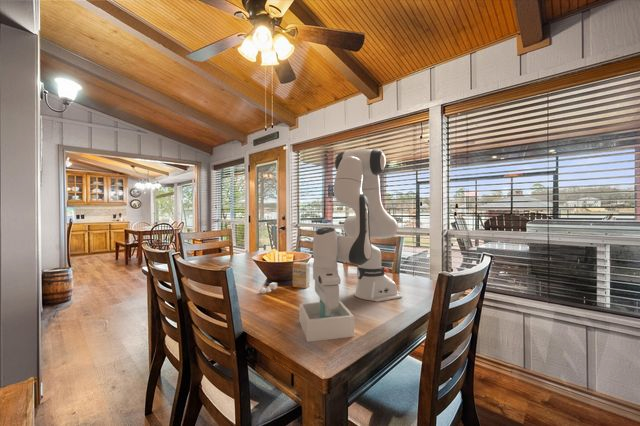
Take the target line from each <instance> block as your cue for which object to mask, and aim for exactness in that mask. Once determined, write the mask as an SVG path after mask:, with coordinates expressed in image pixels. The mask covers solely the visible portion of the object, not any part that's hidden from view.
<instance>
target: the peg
mask: <svg viewBox="0 0 640 426" xmlns="http://www.w3.org/2000/svg"><path fill="white" fill-rule="evenodd" d="M319 302H320V318H328V317H331V310H330V315H329V316H326V315H325V314H324V309H325V305H324V303H323V302H322V300H320V299H319Z"/></svg>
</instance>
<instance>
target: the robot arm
mask: <svg viewBox="0 0 640 426" xmlns="http://www.w3.org/2000/svg"><path fill="white" fill-rule="evenodd" d="M386 163H387V159H386V155H385V152H383V150H382V149H378V148H373V149H372V148H371V149H368V148H359V149H354V150H345V151H341V152H338V154H337V155H336V157H335V160H334V167H335V170H336V173H335V176H334V183H333V192H332V193H333V195H334V198H335V199H336V201H338V203H340V204H342V206H345V207H348V208H349V209H352V210H353V212H354V214H355V215H350V216H347V218H346V219H345V220H344V222H343V231H344V233H345V234H346V235H341V234H339V233H337V230H336V229H335V228H333V227H323V228H322V227H321V228H318V229H317V230H315V231H314V235H313V240H312V256H313V261H312V262H313V263H312V279H313V280H314V292H315V293H316V295H317V296H318V298H319V301H320V300H322V302H323V303H324V305H325V309H324V314H325V315H326V316H329V315H330V310H331V309H334V308H337V306H338V301H340V300H339V299H340V287H339V286H340V285H341V284H342V283H341V277H340V275H339V269H338V268H339V267H338V262H343V263H350V264H353V265H356V266H357V270H356V277H357V282H356V289H355V293H354V296H355V297H357V298H358V299H361V300H367V301H372V302H377V303H378V302H383V301H388V300H394V299H400V298H403V294H402V293H401V292H400V291H398V287H397V284H396V282H395V281H394V280H393V279H391V278H390V277H389V276H388V275H387V274H388V273H389V271H390V270H389V269H388V268H387V267H384V266H382V252H381V249H380V248H379V247H377V246H376V245H374V244H372V243H371V239H378V240H379V239H383V240H384V239H390V238H394V237H395V235H396V234H397V232H398V223H397V220H396V219H395V218H394V217H393V216H391V215H390V214H389V213H388V212H387V211H386V209H385V208H384V205H383V203H382V197H381V181H380V176H379V175H380V174H382V173H383V171H384V170H385V167H386Z"/></svg>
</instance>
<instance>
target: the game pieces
mask: <svg viewBox="0 0 640 426" xmlns="http://www.w3.org/2000/svg"><path fill="white" fill-rule="evenodd" d="M277 289H278V282H271V283H269V284H268V286H267V287H261V288H259V292H260V294H262V295H265V294H266V293H270V292H272V290H273V291H274V290H277Z"/></svg>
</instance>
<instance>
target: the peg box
mask: <svg viewBox="0 0 640 426" xmlns="http://www.w3.org/2000/svg"><path fill="white" fill-rule="evenodd" d="M299 324H300V327H301V329H302V332H303V334H304V337H305V339H306V342H307V343H310V342H319V341H326V340H327V341H328V340H336V339H338V340H339V339H346V338H353V337H355V315H354V314H353V313H352V312H351V311H350V310H349V309H348V307H347V306H346V305H345V304H344V303H343V302H342V301H341V300H339V301H338V306H337V308H334V309H331V317H328V318H320V301H319V302H304V303H299Z"/></svg>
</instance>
